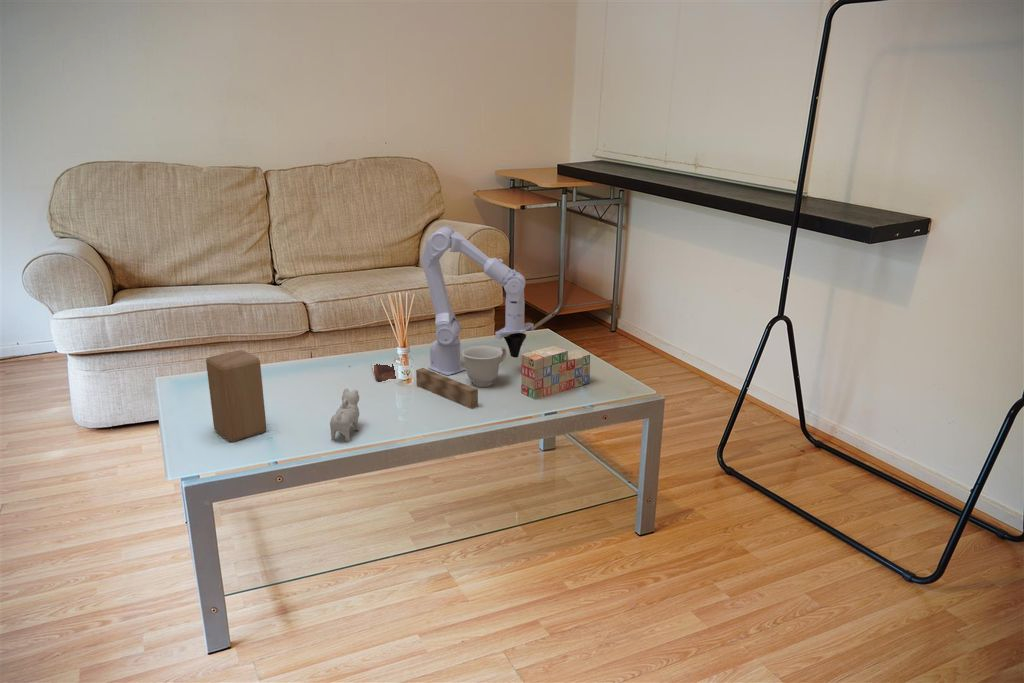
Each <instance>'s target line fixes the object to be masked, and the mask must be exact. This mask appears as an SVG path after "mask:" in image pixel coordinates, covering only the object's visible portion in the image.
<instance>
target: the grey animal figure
mask: <svg viewBox="0 0 1024 683" xmlns="http://www.w3.org/2000/svg"><path fill="white" fill-rule="evenodd" d="M359 401H360V395H359V390H357V389H353V390H352V391H349V388H345V389H343V392H342V395H341V402H342V404H341V405H339V408H338V409H337V410H336V412H335V414H334V415H332V417H331V418H330V422H329V427H330V436H331V439H330V440H331V441H332V440H335V441H336V434H337V432H339V433H341V434H343V436H344V437H345V438H344V442H346V441H347V443H349V442H351V438H350V426H351V425H352V426H353V428H354V431H355V430H359V431H361V428H360V425H359V417H360V410H359V407H358V403H359Z"/></svg>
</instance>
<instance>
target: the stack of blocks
mask: <svg viewBox="0 0 1024 683" xmlns="http://www.w3.org/2000/svg"><path fill="white" fill-rule="evenodd" d="M520 367H521V368H520V375H521V378H520V379H521V382H520V383H521V385H520V389H521V390H520V392H521V394H522V395H523V396H526V397H528V398H531V399H533V400H538V399H541V398H546V397H548V396H552V395H556V394H559V393H561V392H565V391H568V389H569V390H572V389H575V387H576V388H579V387H582V386H585V385H584V384H586V385H589V384H590V382H591V380H590V378H591V376H590V375H591V354H590V353H587V352H585V351H581V350H579V349H573V350H567V349H563V348H560V347H559V346H555V345H551V346H548V347H544V348H540V349H536V350H532V351H528V352H524V353H522V354H521V366H520ZM588 383H589V384H588ZM578 386H579V387H578ZM571 388H572V389H571Z"/></svg>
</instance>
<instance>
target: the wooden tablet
mask: <svg viewBox="0 0 1024 683" xmlns="http://www.w3.org/2000/svg"><path fill="white" fill-rule="evenodd" d="M373 375H374V378H375V380H377V381H378V382H382V381H386V380H388V379H396V376H395V370H394V366H393V364H392V367H390V366H388V365H380V364H379V365H378V364H376V365H374V372H373ZM377 381H376V382H377ZM378 382H377V383H378Z"/></svg>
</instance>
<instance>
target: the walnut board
mask: <svg viewBox="0 0 1024 683" xmlns="http://www.w3.org/2000/svg"><path fill="white" fill-rule="evenodd" d="M415 371H416V373H415V374H416V376H415V377H416V387H418V388H421V389H423V390H426V391H429V392H431V393H432V394H435V395H437V396H439V397H443V398H445V399H447V400H449V401H452V402H454V403H457V404H459V405H461V406H463V407H467V408H468V409H471V410H472V409H474V408H477V407H479V391H478V390H479V388H475V387H472V386H470V385H468V384H466V383H462V382H461V381H459V380H458V381H457V380H455V379H453V378H450V377H448V376H446V375H445V376H444V375H443V374H441V373H437V372H436V371H435V372H434V371H433V370H431V369H430V370H429V369H427V368H424V367H421V368H417V369H416V370H415Z"/></svg>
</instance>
